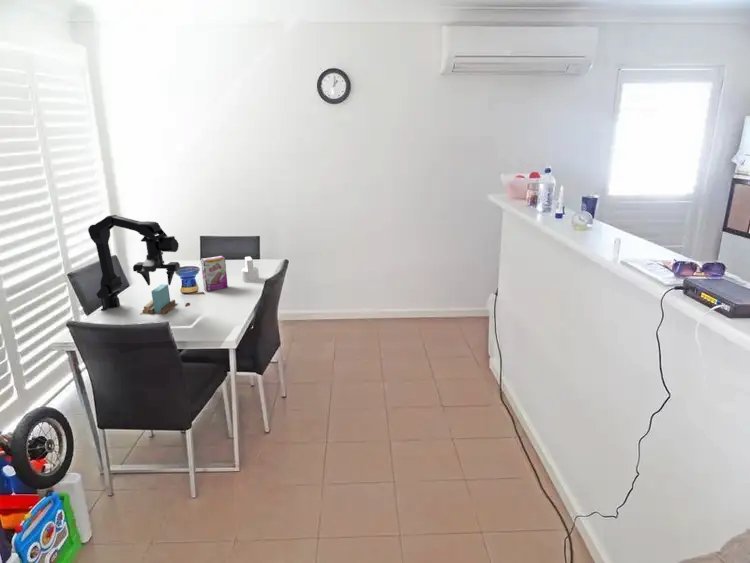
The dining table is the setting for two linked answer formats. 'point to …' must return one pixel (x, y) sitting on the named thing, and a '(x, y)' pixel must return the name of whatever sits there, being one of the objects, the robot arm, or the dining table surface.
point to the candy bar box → (214, 273)
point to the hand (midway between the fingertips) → (159, 285)
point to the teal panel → (160, 297)
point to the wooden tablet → (193, 294)
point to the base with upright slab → (249, 271)
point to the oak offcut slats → (148, 307)
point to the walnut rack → (164, 310)
